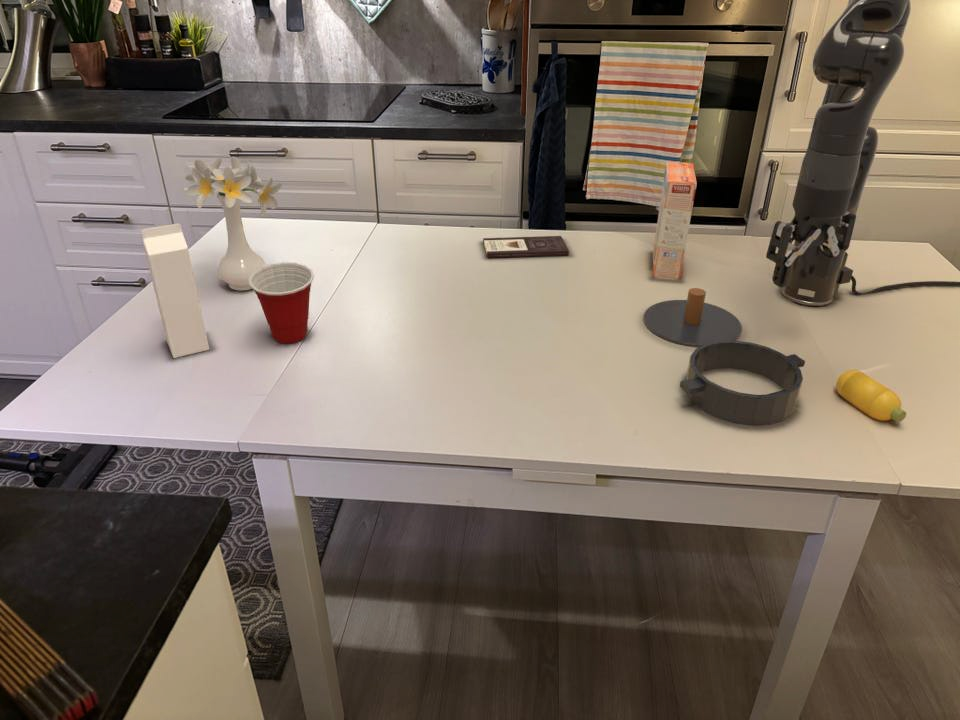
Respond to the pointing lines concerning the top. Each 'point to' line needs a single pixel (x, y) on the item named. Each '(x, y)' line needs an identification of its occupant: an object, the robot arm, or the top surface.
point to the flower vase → (233, 213)
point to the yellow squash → (870, 396)
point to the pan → (742, 404)
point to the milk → (175, 289)
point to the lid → (692, 321)
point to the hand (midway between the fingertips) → (800, 280)
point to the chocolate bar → (525, 246)
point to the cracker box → (673, 219)
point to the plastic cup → (284, 299)
